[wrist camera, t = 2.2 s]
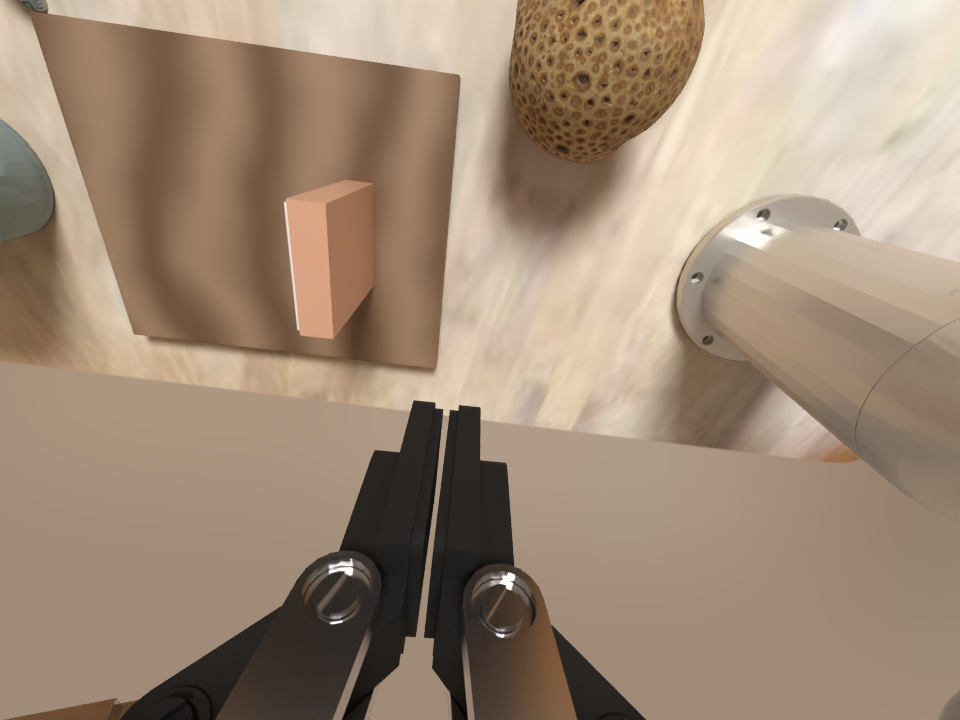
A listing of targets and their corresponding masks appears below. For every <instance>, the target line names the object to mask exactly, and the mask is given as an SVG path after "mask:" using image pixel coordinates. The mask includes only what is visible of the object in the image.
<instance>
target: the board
mask: <svg viewBox="0 0 960 720" xmlns="http://www.w3.org/2000/svg"><path fill="white" fill-rule="evenodd" d="M29 13H30V16H31V19H32V22H33V25H34V28H35V31H36V34H37V37H38V40H39V43H40V47H41V50H42V53H43V56H44V59H45V62H46V65H47V68H48V71H49V74H50V77H51V80H52V83H53V87H54V90H55V93H56V96H57V99H58V102H59V105H60V108H61V111H62V114H63V117H64V120H65V123H66V127H67V130H68V133H69V136H70V139H71V142H72V145H73V148H74V151H75V154H76V157H77V160H78V163H79V166H80V170H81V173H82V176H83V179H84V182H85V185H86V188H87V191H88V194H89V197H90V200H91V203H92V206H93V210H94V213H95V216H96V219H97V222H98V225H99V228H100V231H101V234H102V237H103V240H104V243H105V246H106V250H107V253H108V256H109V259H110V262H111V265H112V268H113V271H114V274H115V277H116V280H117V283H118V286H119V290H120V293H121V296H122V299H123V302H124V305H125V308H126V311H127V314H128V317H129V320H130V323H131V326H132V329H133V333H134V334H136V335H145V336H154V337H162V338H171V339H180V340H189V341H198V342H206V343H215V344H224V345H233V346H242V347H250V348H259V349H268V350H277V351H286V352H294V353H303V354H312V355H321V356H330V357H338V358H347V359H356V360H365V361H374V362H382V363H391V364H400V365H409V366H418V367H426V368H435V367H436V363H437V356H438V344H439V332H440V320H441V307H442V295H443V283H444V271H445V259H446V247H447V235H448V223H449V211H450V199H451V187H452V174H453V162H454V150H455V138H456V126H457V114H458V102H459V90H460V76H459V75H456V74H449V73H443V72H436V71H429V70H423V69H416V68H409V67H402V66H396V65H389V64H382V63H375V62H369V61H362V60H355V59H349V58H342V57H335V56H328V55H322V54H315V53H308V52H301V51H295V50H288V49H281V48H275V47H268V46H261V45H254V44H248V43H241V42H234V41H228V40H221V39H214V38H207V37H201V36H194V35H187V34H180V33H174V32H167V31H160V30H154V29H147V28H140V27H133V26H127V25H120V24H113V23H106V22H100V21H93V20H86V19H80V18H73V17H66V16H59V15H53V14H46V13H39V12H32V11H29ZM343 180H351V181H359V182H366V183H373V202H374V286H373V287H372V289H371V290H370V291H369V293H368V294H367V295H366V297H365V298H364V299H363V301H362V302H361V303H360V305H359V306H358V307H357V309H356V310H355V311H354V313H353V314H352V315H351V317H350V318H349V319H348V321H347V322H346V323H345V325H344V326H343V327H342V329H341V330H340V331H339V333H338V334H337V335H336V337H335V338H334V339H327V338H319V337H310V336H301V335H300V331H299V330H297V321H296V312H295V303H294V293H293V284H292V274H291V265H290V256H289V246H288V237H287V227H286V218H285V209H284V202H285V201H286V198H289V197H292V196H295V195H298V194H302V193H305V192H308V191H311V190H315V189H318V188H321V187H324V186H327V185H331V184H334V183H337V182H340V181H343Z"/></svg>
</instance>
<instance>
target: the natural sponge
mask: <svg viewBox="0 0 960 720" xmlns="http://www.w3.org/2000/svg"><path fill="white" fill-rule="evenodd" d="M704 28H705V18H704V5H703V0H518V4H517V13H516V23H515V31H514V38H513V45H512V52H511V59H510V69H509V81H510V93H511V98H512V103H513V107H514V110H515V112H516V115H517V117H518V119H519V121H520V123H521V125H522V127H523V128H524V130H525V131H526V133H527V134H528V136H529V137H530V138H531V139H532V140H533V142H534V143H535V144H536V145H537V146H538V147H540V148H542V149H543V150H545V151H547V152H548V153H550V154H551V155H553V156H556V157H558V158H560V159H563V160H567V161H571V162H575V163H583V164H587V163H592V162H595V161H598V160H600V159H602V158H604V157H605V156H607V155H609V154H610V153H612V152H614V151H615V150H616V149H617V148H619V147H620V146H621V145H622V144H624V143H625V142H626V141H628V140H629V139H632V138H634V137H636V136H637V135H639V134H641V133H642V132H644V131H645V130H647V129H648V128H649V127H650V126H652V125H653V124H654V123H655V122H656V121H657V120H658V119H659V118H660V117H661V116H662V115H663V114H664V113H665V112H666V111H667V110H668V109H669V107H670V106H671V105H672V104H673V103H674V101H675V100H676V98H677V97H678V96H679V94H680V93H681V91H682V90H683V88H684V86H685V85H686V83H687V81H688V79H689V77H690V75H691V73H692V71H693V68H694V66H695V63H696V61H697V58H698V55H699V52H700V49H701V45H702V40H703V35H704Z"/></svg>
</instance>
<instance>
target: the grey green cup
mask: <svg viewBox="0 0 960 720" xmlns="http://www.w3.org/2000/svg"><path fill="white" fill-rule="evenodd" d="M53 208H54V195H53V189H52V185H51V181H50V179H49V176H48V174H47V172H46V170H45V167H44V166H43V164H42V162H41V160H40V159H39V157H38V156H37V155H36V153H35V152H34V151H33V149H32V148H31V147H30V146H29V144H28V143H27V142H26V141H25V140H24V139H23V138H22V137H21V136H20V135H19V134H18V133H17V132H16V131H15V130H14V129H13V128H11V127H10V126H9V125H8V124H7V123H5V122H4V121H3V120H1V119H0V241H7V240H10V239H14V238H18V237H22V236H25V235H28V234H31V233H34V232H36V231H37V230H39V229H41V228H42V227H43V226H44V225H45V224H46V223H47V222H48V221H49V219H50V217H51V215H52V212H53Z"/></svg>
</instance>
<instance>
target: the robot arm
mask: <svg viewBox="0 0 960 720" xmlns="http://www.w3.org/2000/svg"><path fill="white" fill-rule="evenodd" d="M758 213H759V214H758ZM757 214H758V215H757ZM693 274H695V275H694V276H693ZM692 276H693V277H692ZM676 307H677V311H678V316H679V320H680V322H681V325H682V327H683V329H684V331H685V332H686V333H687V335H688V336H689V337H690V338H691V339H692V341H693V342H694V343H695V344H697V345H698V346H699V347H700V348H701V349H703V350H704V351H706V352H708V353H710V354H711V355H713V356H716V357H720V358H723V359H726V360H735V361H748V362H750V363H751V364H752V365H753V366H754V367H755V368H756V369H758V370H759V371H760V372H761V373H762V374H763V375H765V376H766V377H767V378H768V379H769V380H770V381H772V382H773V383H774V384H775V385H776V386H777V387H778V388H780V389H781V390H782V391H783V392H784V393H785V394H787V395H788V396H789V397H790V398H791V399H792V400H794V401H795V402H796V403H797V404H798V405H799V406H800V407H802V408H803V409H804V410H805V411H806V412H807V413H809V414H810V415H811V416H812V417H813V418H814V419H815V420H817V421H818V422H819V423H820V424H821V425H822V426H824V427H825V428H826V429H827V430H828V431H829V432H831V433H832V434H833V435H834V436H835V437H836V438H837V439H839V440H840V441H841V442H842V443H843V444H844V445H846V446H847V447H848V448H849V449H850V450H851V451H853V452H854V453H855V454H856V455H857V456H858V457H860V458H861V459H862V460H863V461H864V462H866V463H867V464H868V465H869V466H870V467H872V468H873V469H874V470H875V471H876V472H878V473H879V474H880V475H881V476H882V477H883V478H885V479H886V480H887V481H888V482H889V483H891V484H892V485H893V486H894V487H896V488H897V489H898V490H900V491H901V492H903V493H904V494H905V495H907V496H908V497H910V498H911V499H913V500H915V501H916V502H918V503H919V504H921V505H923V506H925V507H927V508H929V509H931V510H933V511H935V512H937V513H939V514H942V515H944V516H946V517H949V518H952V519H954V520H957V521H960V263H957V262H953V261H950V260H946V259H942V258H939V257H935V256H931V255H927V254H924V253H920V252H916V251H913V250H909V249H905V248H901V247H898V246H894V245H890V244H887V243H883V242H879V241H875V240H872V239H868V238H864V237H861V234H860V231H859V229H858V227H857V225H856V223H855V221H854V219H853V218H852V217H851V216H850V215H849V214H848V213H847V212H846V211H845V210H844V209H843V208H842V207H840V206H838V205H836V204H834V203H833V202H831V201H829V200H825V199H821V198H817V197H813V196H806V195H799V194H791V195H778V196H774V197H770V198H766V199H762V200H759V201H756V202H754V203H752V204H749V205H747V206H745V207H743V208H741V209H739V210H737V211H736V212H734V213H733V214H731V215H729V216H728V217H726V218H725V219H723V220H722V221H721V222H720V223H719V224H718V225H716V226H715V227H714V228H713V229H712V230H711V231H709V232H708V234H707V235H706V236H705V237H704V238H703V239H702V240H701V242H700V243H699V244H698V245H697V246H696V248H695V249H694V251H693V253H692V254H691V256H690V257H689V259H688V260H687V262H686V265H685V267H684V269H683V272H682V274H681V276H680V280H679V285H678V289H677V306H676ZM480 414H481V410H480V407H472V406H462V405H459V410H458V411H455V410H450V415H449V423H448V432H447V440H446V448H445V456H444V465H443V473H442V481H441V489H440V498H439V506H438V514H437V523H436V532H435V539H434V548H433V558H432V568H431V577H430V586H429V595H428V605H427V615H426V624H425V634H424V638H434V647H433V666H432V668H433V670H434V671H435V673H436V674H437V675H438V677H439V678H440V679H441V681H442V682H443V684H444V685H445V686H446V688H447V704H448V720H646V719H645V718H644V717H643V716H642V715H641V714H640V713H639V712H638V711H637V710H636V709H635V708H634V707H633V706H632V705H631V704H630V703H629V702H628V701H627V700H626V699H625V698H624V697H623V696H622V695H621V694H620V693H619V692H618V691H617V690H616V689H615V688H614V687H613V686H612V685H611V684H610V683H609V682H608V681H607V680H606V679H605V678H604V677H603V676H602V675H601V674H600V673H599V672H598V671H597V670H596V669H595V668H594V667H593V666H592V665H591V664H590V663H589V662H588V661H587V660H586V659H585V658H584V657H583V656H582V655H581V654H580V653H579V652H578V651H577V650H576V649H575V648H574V647H573V646H572V645H571V644H570V643H569V642H568V641H567V640H566V639H565V638H564V637H563V636H562V635H561V634H560V633H559V632H558V631H557V630H556V629H555V628H554V627H553V626H552V625H551V623H550V619H549V615H548V611H547V608H546V604H545V601H544V598H543V596H542V593H541V591H540V588H539V586H538V585H537V584H536V583H535V581H534V580H533V579H532V578H531V577H530V576H529V575H528V574H526V573H525V572H524V571H522V570H521V569H519V568H517V567H514V556H513V542H512V528H511V514H510V500H509V486H508V473H507V465H506V463H501V462H490V461H481V460H480ZM442 418H443V409H436V408H435V403H434V402H424V401H415V400H414V401H413V404H412V408H411V412H410V416H409V420H408V424H407V427H406V431H405V435H404V439H403V442H402V446H401V450H400V453H399V452H388V451H378V450H375V451H374V453H373V455H372V458H371V460H370V463H369V466H368V469H367V472H366V475H365V478H364V481H363V484H362V487H361V489H360V492H359V495H358V498H357V501H356V504H355V507H354V510H353V512H352V515H351V518H350V521H349V524H348V527H347V530H346V533H345V535H344V539H343V541H342V544H341V547H340V550H339V551H338V552H333V553H329V554H327V555H325V556H323V557H320V558H318V559H317V560H316V561H314V562H313V563H312V564H310V565H309V566H308V567H307V568H306V569H305V570H304V571H303V573H302V574H301V575H300V576H299V578H298V579H297V581H296V583H295V584H294V586H293V588H292V589H291V591H290V593H289V595H288V596H287V598H286V600H285V601H284V603H283V605H282V606H281V607H279V608H278V609H276V610H275V611H273V612H271V613H270V614H269V615H267V616H265V617H264V618H262V619H261V620H259V621H258V622H256V623H255V624H253V625H251V626H250V627H248V628H247V629H245V630H244V631H242V632H241V633H239V634H238V635H236V636H234V637H233V638H231V639H230V640H228V641H227V642H225V643H224V644H222V645H220V646H219V647H217V648H216V649H214V650H213V651H211V652H210V653H208V654H207V655H205V656H203V657H202V658H201V659H199V660H197V661H196V662H194V663H193V664H191V665H190V666H188V667H186V668H185V669H183V670H182V671H180V672H179V673H177V674H176V675H174V676H173V677H171V678H169V679H168V680H166V681H165V682H163V683H162V684H160V685H159V686H157V687H155V688H154V689H153V690H151V691H150V692H148V693H147V694H146V695H145V696H143V697H142V698H141V699H139V700H135V701H130V702H125V703H120V702H119V701H118V700H117V698H115V699H109V700H104V701H99V702H94V703H89V704H83V705H78V706H73V707H68V708H63V709H58V710H52V711H47V712H42V713H36V714H31V715H26V716H21V717H15V718H10V719H5V720H369V718H370V715H371V712H372V708H373V705H374V703H375V699H376V696H377V693H378V690H379V684H380V682H381V681H383V679H385V678H386V677H387V676H388V675H389V674H390V673H391V672H392V671H393V670H395V669H396V668H397V667H398V666H399V661H400V655H401V653H402V654H403V650H404V644H405V637H406V636H408V637H415V636H416V631H417V623H418V616H419V609H420V601H421V593H422V586H423V579H424V572H425V564H426V556H427V549H428V542H429V535H430V527H431V519H432V512H433V504H434V497H435V488H436V478H437V468H438V458H439V447H440V438H441V428H442ZM937 720H960V690H959V691H958V692H957V693H955V694H954V695H953V696H952V697H951V698H950V700H949V701H948V702H947V703H946V705H945V706H944V708H943V709H942V710H941V713H940V715H939V717H938V719H937Z"/></svg>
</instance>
